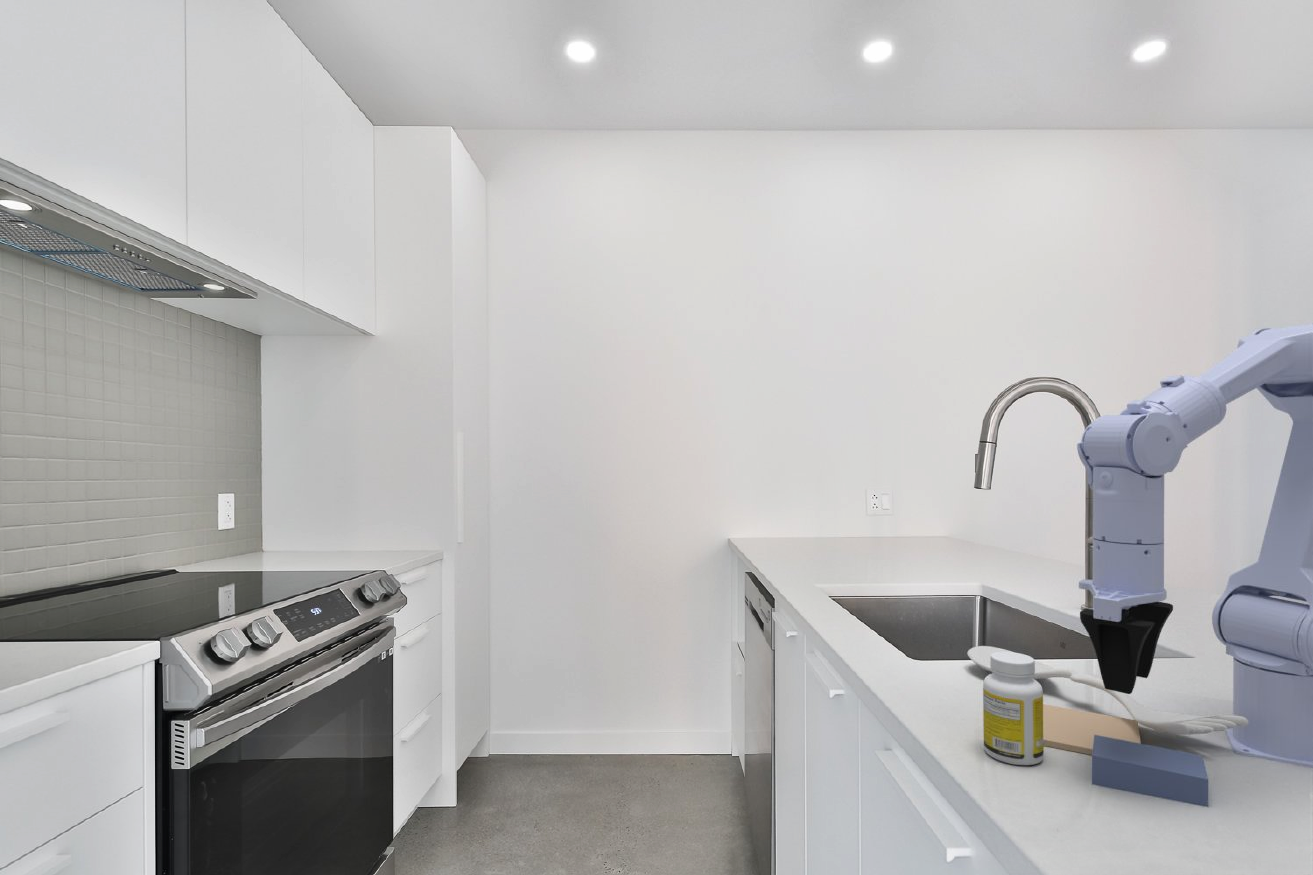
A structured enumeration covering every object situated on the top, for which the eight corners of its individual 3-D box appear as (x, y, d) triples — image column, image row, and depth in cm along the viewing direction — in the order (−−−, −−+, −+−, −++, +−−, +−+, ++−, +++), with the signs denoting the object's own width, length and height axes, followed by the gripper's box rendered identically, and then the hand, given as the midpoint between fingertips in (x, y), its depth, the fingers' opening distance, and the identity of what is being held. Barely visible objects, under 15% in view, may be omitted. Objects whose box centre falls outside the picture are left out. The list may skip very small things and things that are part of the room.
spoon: (1185, 759, 69) (1185, 723, 69) (952, 666, 100) (952, 640, 100) (1251, 750, 72) (1251, 714, 72) (1005, 661, 102) (1005, 637, 103)
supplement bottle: (1024, 742, 75) (1025, 648, 75) (1054, 766, 70) (1055, 665, 70) (973, 743, 75) (973, 649, 75) (999, 767, 70) (1000, 666, 70)
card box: (1202, 788, 67) (1202, 755, 67) (1208, 814, 62) (1208, 779, 62) (1094, 764, 71) (1094, 734, 71) (1091, 787, 67) (1092, 755, 67)
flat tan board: (1137, 725, 80) (1137, 720, 80) (1142, 765, 70) (1142, 758, 70) (997, 701, 87) (997, 696, 87) (985, 733, 78) (985, 728, 78)
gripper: (1101, 529, 77) (1101, 656, 77) (1056, 543, 67) (1056, 690, 67) (1182, 535, 72) (1181, 672, 72) (1147, 552, 62) (1146, 711, 62)
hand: (1127, 682), depth 69 cm, fingers open, 5 cm apart
